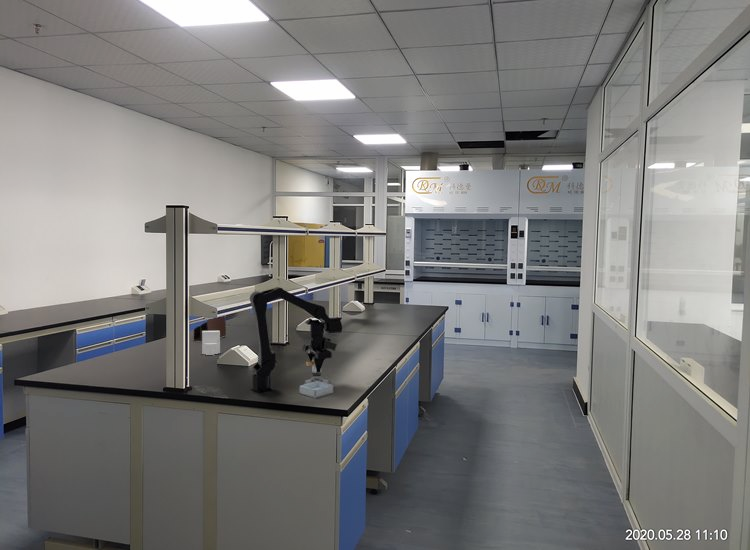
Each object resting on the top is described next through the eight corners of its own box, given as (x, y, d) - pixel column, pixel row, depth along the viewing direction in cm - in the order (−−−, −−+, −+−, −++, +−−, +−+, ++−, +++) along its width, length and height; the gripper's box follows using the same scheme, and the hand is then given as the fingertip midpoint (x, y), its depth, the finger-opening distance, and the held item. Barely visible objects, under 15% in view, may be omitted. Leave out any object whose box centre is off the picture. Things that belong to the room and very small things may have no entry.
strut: (322, 375, 221) (323, 359, 221) (308, 377, 218) (308, 360, 218) (319, 373, 225) (319, 357, 224) (305, 375, 222) (305, 358, 221)
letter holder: (226, 337, 326) (226, 314, 325) (208, 343, 307) (208, 319, 306) (211, 336, 328) (211, 313, 327) (193, 342, 309) (192, 318, 308)
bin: (314, 397, 202) (314, 390, 202) (299, 393, 208) (299, 385, 208) (333, 392, 210) (333, 385, 210) (317, 388, 216) (317, 380, 216)
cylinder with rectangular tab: (201, 355, 272) (200, 332, 271) (203, 352, 281) (203, 329, 280) (219, 355, 274) (219, 332, 273) (220, 351, 283) (220, 329, 282)
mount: (316, 387, 217) (316, 381, 217) (304, 384, 222) (304, 378, 222) (328, 383, 223) (328, 378, 222) (317, 380, 227) (317, 375, 227)
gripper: (343, 336, 216) (343, 374, 217) (326, 329, 233) (325, 364, 234) (318, 338, 211) (318, 377, 212) (302, 331, 228) (302, 367, 229)
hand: (316, 371), depth 222 cm, fingers closed on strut, 4 cm apart
